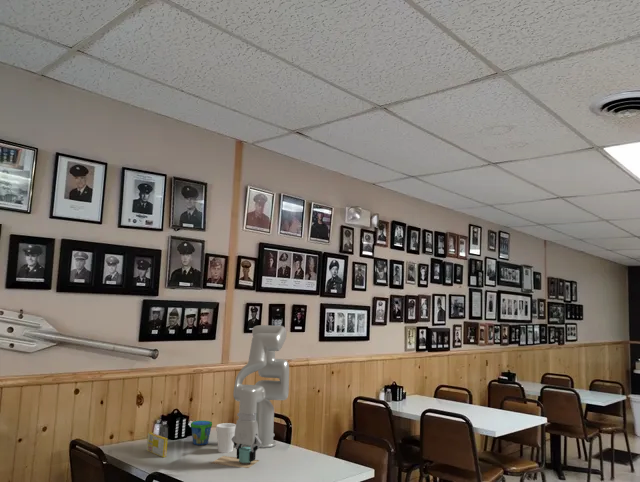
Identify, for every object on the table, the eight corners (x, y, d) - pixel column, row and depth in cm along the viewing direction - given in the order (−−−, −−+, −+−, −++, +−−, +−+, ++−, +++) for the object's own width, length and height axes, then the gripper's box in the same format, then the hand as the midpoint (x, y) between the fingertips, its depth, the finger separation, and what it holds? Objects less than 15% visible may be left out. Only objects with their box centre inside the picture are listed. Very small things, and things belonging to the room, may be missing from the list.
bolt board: (223, 459, 238) (223, 446, 239) (259, 463, 233) (260, 450, 233) (210, 466, 227) (210, 453, 227) (248, 471, 221) (248, 458, 222)
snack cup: (211, 447, 257) (212, 425, 259) (189, 448, 255) (190, 426, 256) (210, 439, 273) (211, 419, 274) (189, 439, 270) (191, 419, 271)
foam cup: (218, 457, 240) (219, 428, 242) (212, 452, 248) (213, 424, 250) (238, 455, 245) (239, 426, 246) (231, 450, 253) (233, 422, 254)
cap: (245, 463, 224) (246, 451, 225) (235, 460, 228) (236, 448, 229) (255, 460, 229) (256, 448, 230) (246, 457, 233) (246, 446, 234)
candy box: (167, 457, 240) (168, 438, 241) (162, 457, 238) (163, 439, 239) (150, 449, 251) (151, 431, 252) (146, 450, 250) (147, 432, 251)
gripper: (226, 416, 231) (224, 458, 229) (259, 420, 224) (257, 465, 221) (236, 413, 238) (234, 454, 236) (268, 417, 230) (267, 460, 228)
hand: (245, 459), depth 229 cm, fingers closed on cap, 6 cm apart
